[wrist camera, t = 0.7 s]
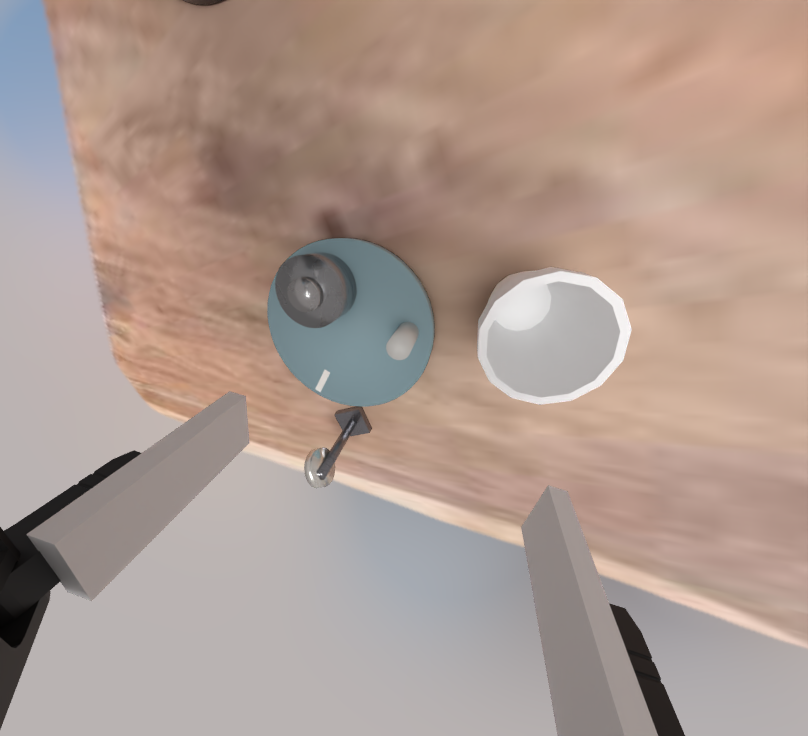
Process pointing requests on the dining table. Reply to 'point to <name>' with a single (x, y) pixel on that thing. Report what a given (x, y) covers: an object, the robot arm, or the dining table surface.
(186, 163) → the dining table surface
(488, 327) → the foam cup
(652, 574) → the dining table surface
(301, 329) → the turntable
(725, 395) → the dining table surface
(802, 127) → the dining table surface
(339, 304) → the cover
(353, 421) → the dial stand
